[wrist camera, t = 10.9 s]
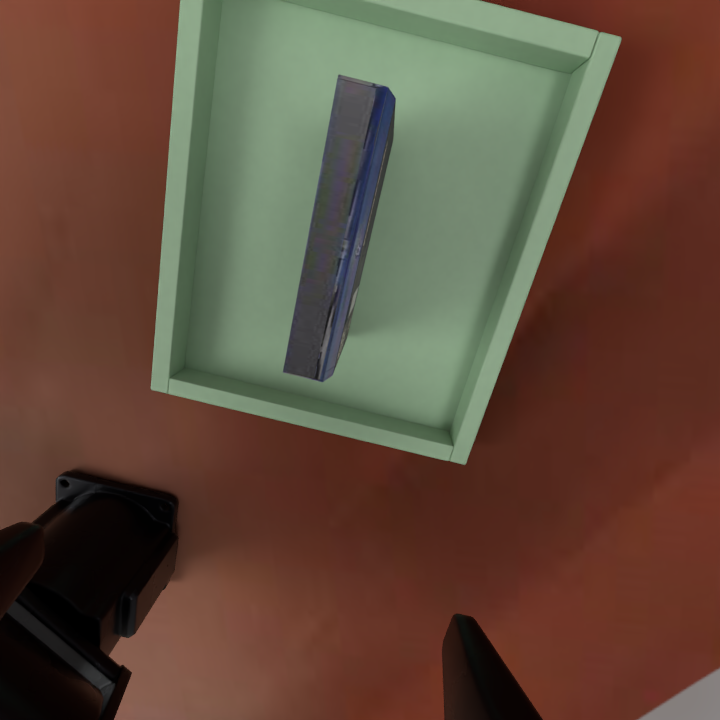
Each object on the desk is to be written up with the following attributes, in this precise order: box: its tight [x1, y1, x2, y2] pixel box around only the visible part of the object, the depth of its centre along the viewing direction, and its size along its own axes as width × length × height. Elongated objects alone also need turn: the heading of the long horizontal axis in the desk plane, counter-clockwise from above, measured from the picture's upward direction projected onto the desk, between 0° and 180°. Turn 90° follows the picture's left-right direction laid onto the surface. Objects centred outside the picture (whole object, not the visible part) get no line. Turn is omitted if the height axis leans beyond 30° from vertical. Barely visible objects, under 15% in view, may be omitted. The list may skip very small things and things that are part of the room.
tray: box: [151, 0, 622, 465], centre depth 16 cm, size 15×17×2 cm
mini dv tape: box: [283, 75, 396, 382], centre depth 14 cm, size 8×2×6 cm, turn 167°
